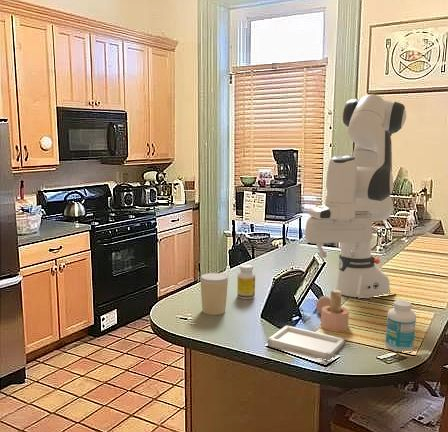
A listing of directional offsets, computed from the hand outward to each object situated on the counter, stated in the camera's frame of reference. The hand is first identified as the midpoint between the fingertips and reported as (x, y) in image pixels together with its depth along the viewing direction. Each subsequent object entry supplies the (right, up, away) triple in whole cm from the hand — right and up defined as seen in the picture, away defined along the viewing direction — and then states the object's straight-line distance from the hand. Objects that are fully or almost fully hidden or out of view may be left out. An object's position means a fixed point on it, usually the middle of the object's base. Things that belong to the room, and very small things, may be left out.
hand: (337, 256), depth 149 cm
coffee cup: (-37, -20, +18) cm, 46 cm away
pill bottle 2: (+15, -25, -11) cm, 31 cm away
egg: (-1, -21, +15) cm, 25 cm away
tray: (-11, -24, -9) cm, 28 cm away
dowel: (0, -22, +3) cm, 22 cm away
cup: (0, -22, +4) cm, 23 cm away
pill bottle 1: (-26, -18, +33) cm, 46 cm away
